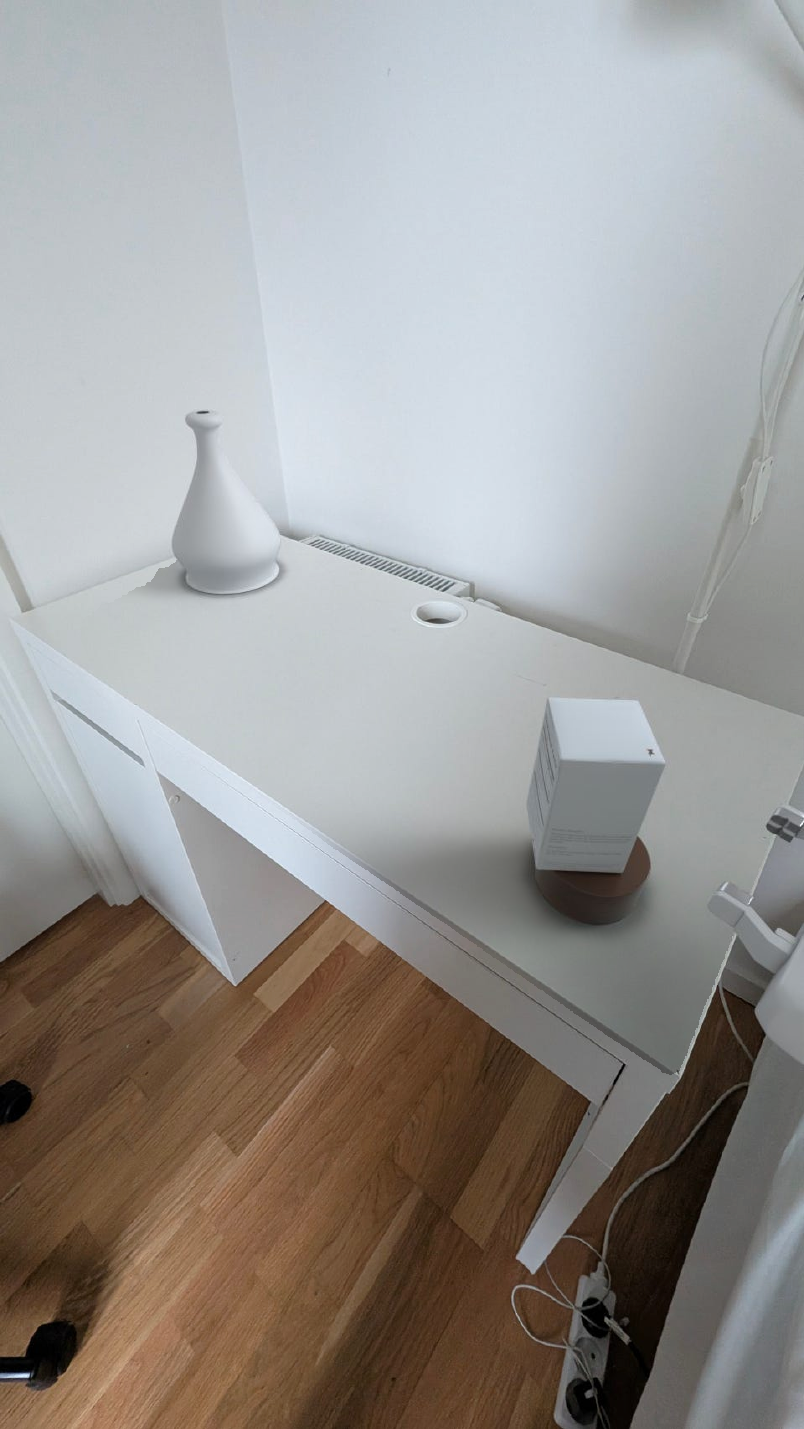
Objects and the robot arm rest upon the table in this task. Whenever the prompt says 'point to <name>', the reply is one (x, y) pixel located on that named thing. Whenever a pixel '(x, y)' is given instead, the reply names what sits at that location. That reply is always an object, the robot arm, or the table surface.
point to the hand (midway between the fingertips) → (745, 851)
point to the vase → (222, 522)
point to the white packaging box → (591, 783)
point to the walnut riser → (597, 889)
